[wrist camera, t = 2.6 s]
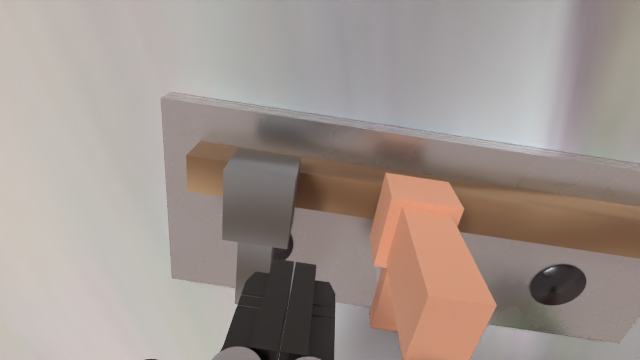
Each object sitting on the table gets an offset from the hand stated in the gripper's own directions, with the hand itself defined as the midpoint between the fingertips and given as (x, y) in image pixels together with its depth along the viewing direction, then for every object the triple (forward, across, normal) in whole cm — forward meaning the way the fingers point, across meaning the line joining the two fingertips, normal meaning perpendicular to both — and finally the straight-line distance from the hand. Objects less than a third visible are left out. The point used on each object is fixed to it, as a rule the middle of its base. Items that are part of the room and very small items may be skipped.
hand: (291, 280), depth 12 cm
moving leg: (+8, -5, +2) cm, 9 cm away
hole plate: (+9, -7, +3) cm, 12 cm away
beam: (+8, -7, +2) cm, 11 cm away
